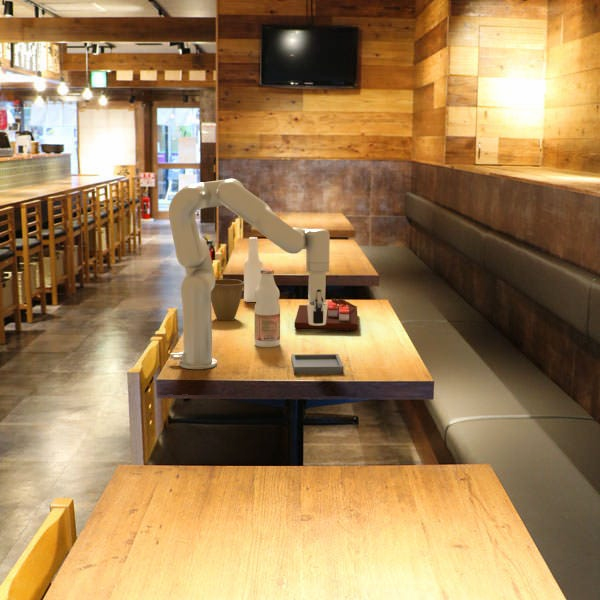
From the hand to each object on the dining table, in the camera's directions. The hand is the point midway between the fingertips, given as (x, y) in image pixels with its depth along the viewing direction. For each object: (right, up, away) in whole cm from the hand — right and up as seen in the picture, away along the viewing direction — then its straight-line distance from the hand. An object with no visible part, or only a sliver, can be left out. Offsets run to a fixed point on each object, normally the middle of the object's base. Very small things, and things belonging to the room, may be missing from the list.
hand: (317, 320), depth 274 cm
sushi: (+6, -4, +69) cm, 70 cm away
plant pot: (-37, -1, +76) cm, 85 cm away
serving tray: (0, -16, +3) cm, 16 cm away
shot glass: (0, -1, 0) cm, 1 cm away
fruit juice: (-18, -10, +33) cm, 39 cm away
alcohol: (-27, +6, +114) cm, 118 cm away
